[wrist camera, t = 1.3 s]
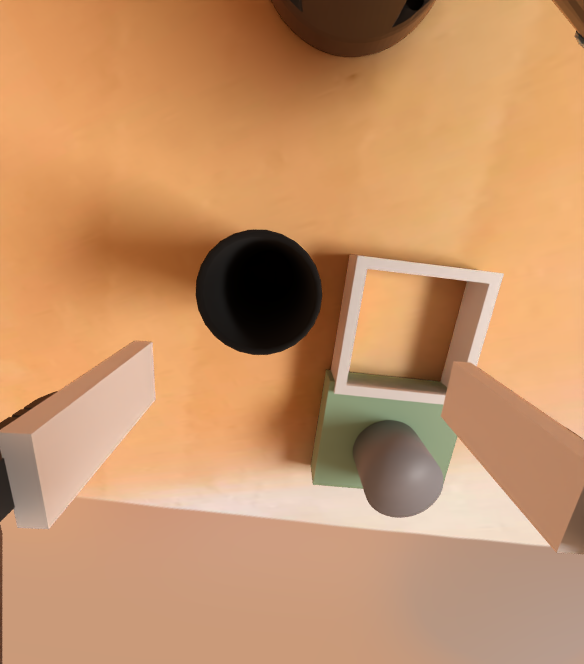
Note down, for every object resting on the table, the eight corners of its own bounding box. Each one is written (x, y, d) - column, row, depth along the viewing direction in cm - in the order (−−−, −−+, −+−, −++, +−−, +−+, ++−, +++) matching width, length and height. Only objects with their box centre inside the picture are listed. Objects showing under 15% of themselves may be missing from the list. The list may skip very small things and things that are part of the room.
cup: (241, 322, 32) (216, 367, 20) (218, 246, 30) (177, 247, 18) (315, 304, 32) (333, 339, 20) (298, 226, 30) (307, 215, 18)
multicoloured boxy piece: (344, 253, 30) (365, 256, 23) (484, 271, 31) (551, 279, 23) (310, 465, 37) (317, 524, 29) (427, 475, 37) (465, 536, 30)
